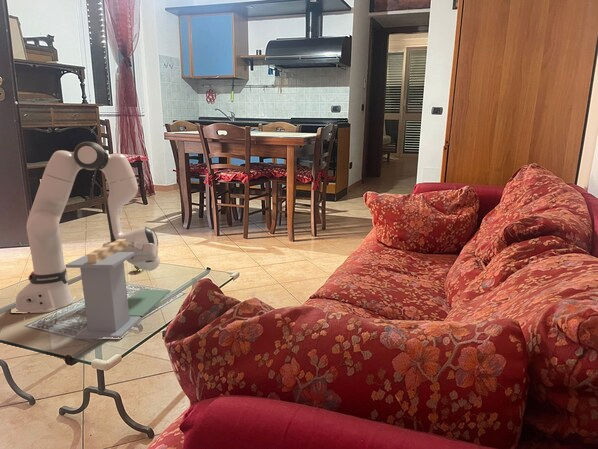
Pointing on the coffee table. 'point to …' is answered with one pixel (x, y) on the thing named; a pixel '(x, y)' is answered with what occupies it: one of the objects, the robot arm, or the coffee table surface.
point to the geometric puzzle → (136, 267)
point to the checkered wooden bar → (106, 251)
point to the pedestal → (105, 297)
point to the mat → (144, 301)
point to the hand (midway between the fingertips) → (120, 243)
